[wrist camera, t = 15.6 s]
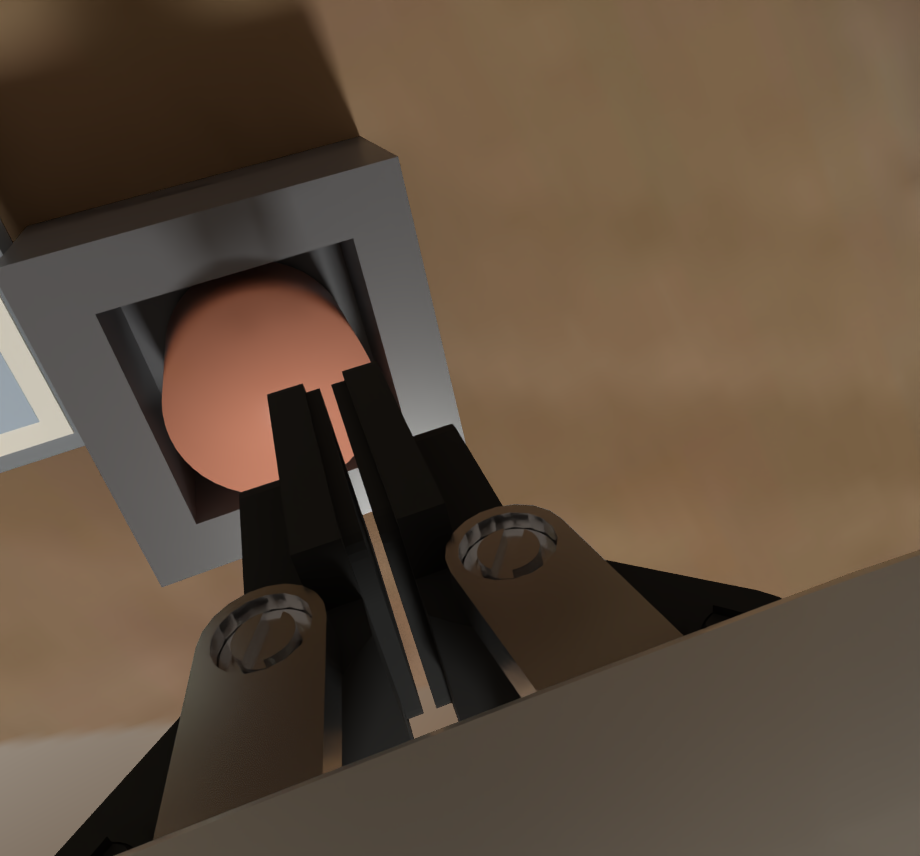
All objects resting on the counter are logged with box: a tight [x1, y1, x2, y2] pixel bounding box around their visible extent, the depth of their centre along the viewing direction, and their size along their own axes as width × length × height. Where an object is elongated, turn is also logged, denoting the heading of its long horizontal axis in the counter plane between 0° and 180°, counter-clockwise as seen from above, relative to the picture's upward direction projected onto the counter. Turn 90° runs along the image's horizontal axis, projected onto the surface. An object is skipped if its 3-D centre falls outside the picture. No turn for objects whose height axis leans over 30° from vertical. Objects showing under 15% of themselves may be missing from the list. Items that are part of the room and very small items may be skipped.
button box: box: [0, 136, 466, 587], centre depth 17 cm, size 7×7×4 cm
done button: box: [162, 262, 370, 492], centre depth 16 cm, size 4×4×3 cm
